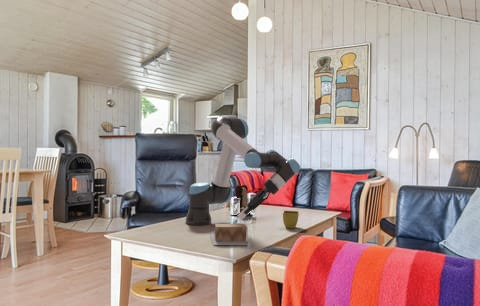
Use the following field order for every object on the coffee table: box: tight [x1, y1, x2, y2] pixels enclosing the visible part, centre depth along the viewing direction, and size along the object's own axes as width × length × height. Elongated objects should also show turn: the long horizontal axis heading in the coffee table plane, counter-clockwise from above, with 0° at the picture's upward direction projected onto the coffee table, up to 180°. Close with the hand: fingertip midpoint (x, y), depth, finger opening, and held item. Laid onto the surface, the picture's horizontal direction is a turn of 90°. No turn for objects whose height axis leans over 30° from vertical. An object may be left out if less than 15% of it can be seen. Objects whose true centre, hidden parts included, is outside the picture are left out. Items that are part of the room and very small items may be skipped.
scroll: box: [235, 184, 249, 213], centre depth 258 cm, size 15×15×20 cm
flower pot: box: [282, 210, 300, 229], centre depth 221 cm, size 9×9×9 cm
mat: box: [209, 235, 248, 246], centre depth 184 cm, size 16×18×1 cm
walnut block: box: [214, 223, 249, 242], centre depth 184 cm, size 7×7×15 cm
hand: (239, 217), depth 185 cm, fingers closed
